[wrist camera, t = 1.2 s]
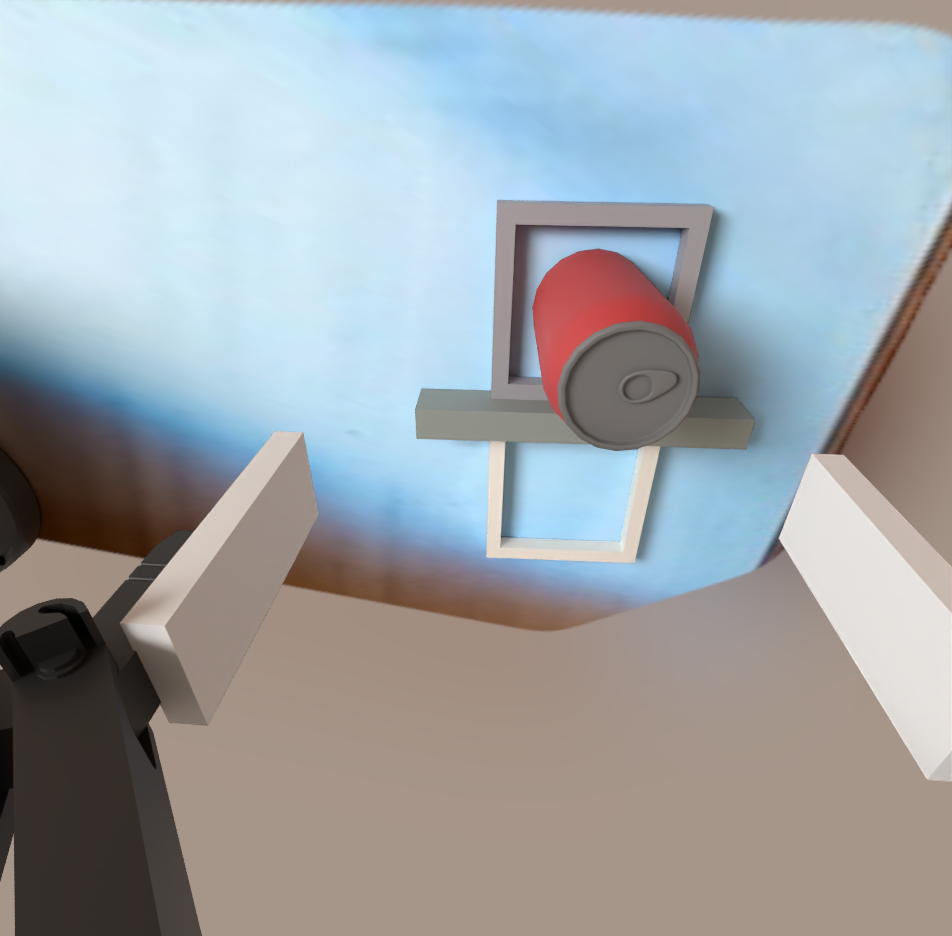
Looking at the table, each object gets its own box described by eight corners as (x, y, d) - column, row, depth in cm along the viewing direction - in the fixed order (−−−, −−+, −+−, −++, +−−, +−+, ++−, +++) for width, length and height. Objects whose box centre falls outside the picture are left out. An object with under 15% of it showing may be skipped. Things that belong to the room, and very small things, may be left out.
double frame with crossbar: (428, 544, 42) (423, 571, 39) (413, 198, 29) (404, 205, 27) (691, 554, 41) (703, 582, 39) (793, 205, 28) (821, 213, 26)
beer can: (652, 344, 33) (719, 442, 23) (545, 371, 34) (563, 476, 24) (638, 230, 29) (708, 286, 19) (519, 265, 31) (527, 335, 21)
